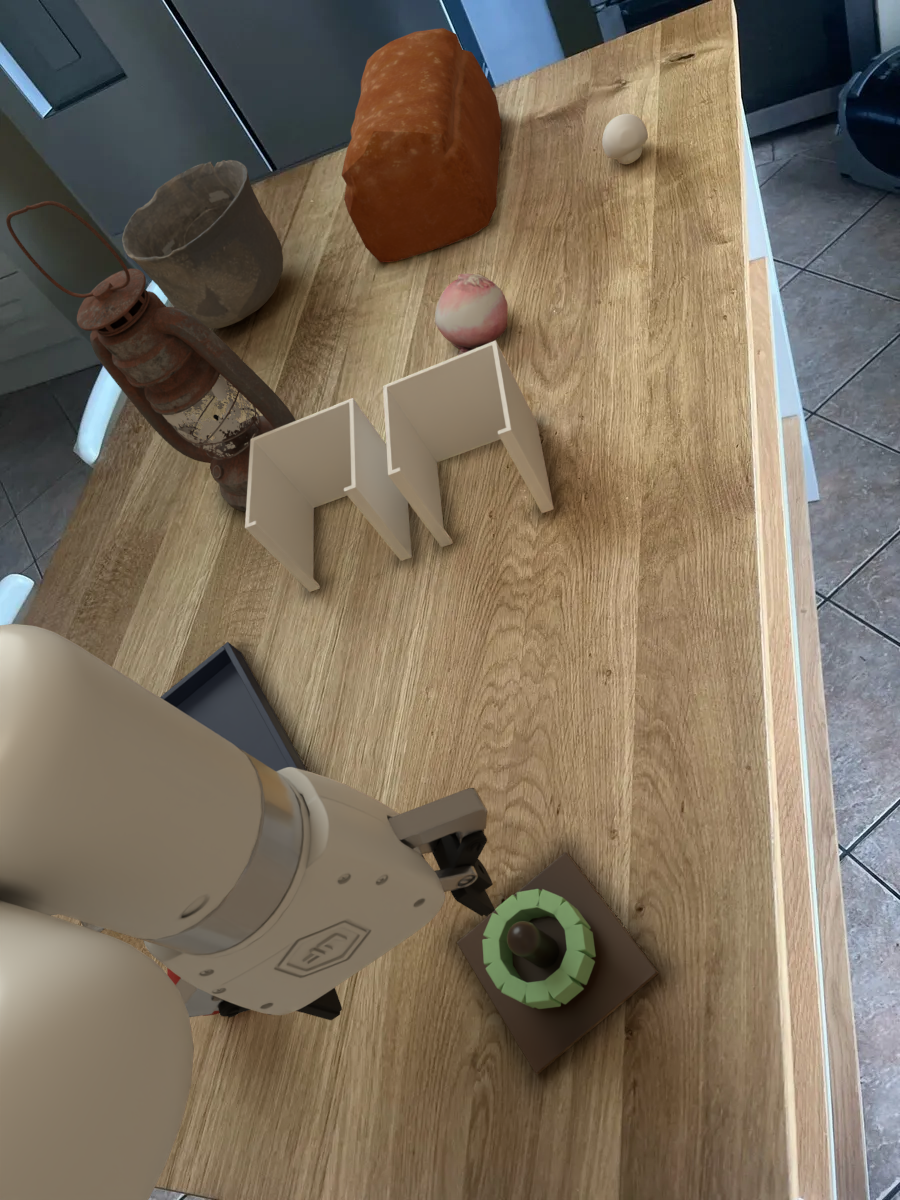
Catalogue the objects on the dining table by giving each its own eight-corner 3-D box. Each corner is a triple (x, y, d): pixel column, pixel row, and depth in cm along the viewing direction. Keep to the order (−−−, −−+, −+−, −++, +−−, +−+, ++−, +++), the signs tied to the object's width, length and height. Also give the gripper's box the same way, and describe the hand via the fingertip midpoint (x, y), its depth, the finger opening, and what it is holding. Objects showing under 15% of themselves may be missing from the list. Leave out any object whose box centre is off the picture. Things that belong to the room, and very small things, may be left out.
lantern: (224, 440, 106) (-13, 185, 79) (341, 423, 99) (125, 136, 72) (193, 517, 101) (-70, 273, 74) (314, 505, 94) (72, 229, 67)
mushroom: (616, 180, 101) (605, 140, 97) (603, 159, 104) (591, 120, 100) (658, 157, 100) (648, 116, 96) (643, 137, 103) (632, 97, 99)
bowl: (295, 234, 124) (231, 135, 112) (326, 298, 112) (258, 196, 101) (188, 303, 126) (115, 214, 114) (208, 373, 115) (129, 282, 103)
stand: (538, 1074, 57) (498, 1062, 52) (458, 944, 64) (416, 921, 58) (658, 973, 57) (632, 950, 52) (567, 853, 64) (535, 822, 58)
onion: (532, 328, 94) (507, 275, 88) (476, 376, 94) (448, 325, 88) (489, 301, 99) (464, 249, 93) (436, 347, 99) (408, 297, 93)
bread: (371, 273, 111) (308, 169, 100) (390, 156, 124) (337, 51, 113) (500, 230, 105) (449, 113, 93) (507, 111, 118) (462, -5, 106)
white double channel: (536, 422, 87) (495, 340, 78) (553, 509, 80) (511, 429, 72) (310, 506, 94) (250, 438, 85) (309, 591, 87) (244, 528, 79)
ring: (533, 1031, 57) (520, 1026, 55) (477, 942, 61) (463, 934, 59) (616, 962, 57) (606, 954, 55) (554, 877, 61) (543, 868, 59)
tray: (160, 929, 74) (143, 923, 73) (102, 765, 87) (86, 757, 85) (321, 796, 75) (307, 787, 73) (240, 652, 87) (227, 641, 85)
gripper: (39, 1065, 33) (292, 1099, 46) (430, 799, 32) (573, 911, 45) (17, 888, 37) (252, 964, 51) (356, 651, 36) (505, 792, 50)
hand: (403, 939), depth 48 cm, fingers open, 9 cm apart
